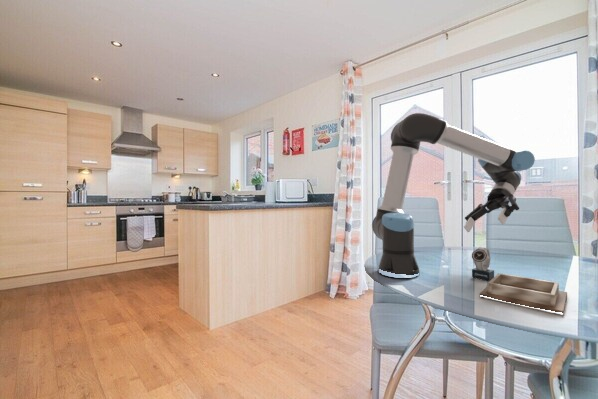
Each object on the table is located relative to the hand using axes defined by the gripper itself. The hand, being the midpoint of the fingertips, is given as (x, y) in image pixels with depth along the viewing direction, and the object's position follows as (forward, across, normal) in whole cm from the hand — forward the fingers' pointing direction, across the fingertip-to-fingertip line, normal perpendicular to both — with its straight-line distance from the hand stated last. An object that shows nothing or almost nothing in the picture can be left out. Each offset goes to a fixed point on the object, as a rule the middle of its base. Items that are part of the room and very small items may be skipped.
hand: (482, 225), depth 104 cm
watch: (+14, +3, -13) cm, 20 cm away
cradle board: (+23, -13, -13) cm, 30 cm away
